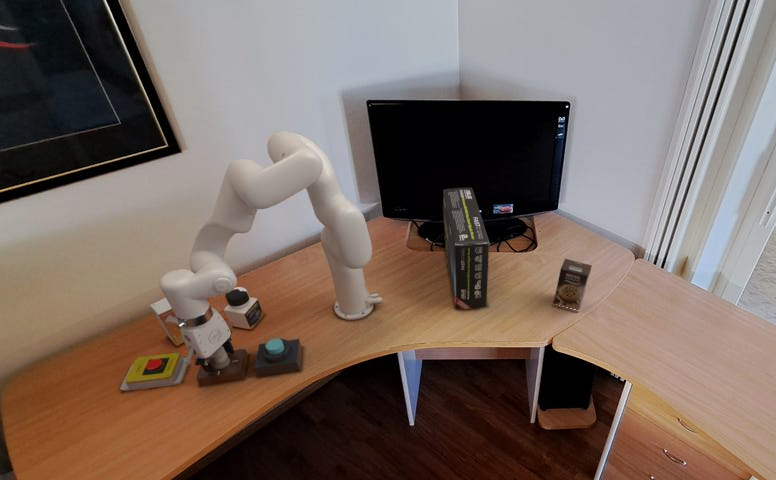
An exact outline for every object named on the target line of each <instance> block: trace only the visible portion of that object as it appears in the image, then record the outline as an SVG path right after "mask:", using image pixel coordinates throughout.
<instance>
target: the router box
mask: <svg viewBox="0 0 776 480" xmlns="http://www.w3.org/2000/svg"><path fill="white" fill-rule="evenodd" d="M479 208H480V207H479V205H478V202H477V199H476V195H475V193H474V189H473V188H472V187H456V188H455V187H454V188H446V189H443V192H442V213H443V214H442V217H443V220H442V221H443V240H444V246H445V248H444V249H445V251H444V252H445V256H446V261H447V268H448V274H449V279H450V284H451V285H450V286H451V289H452V296H453V301H454V307H455V309H456V310H475V309H481V308H486V307H488V288H489V287H488V284H489V260H490V259H489V258H490V253H489V252H490V246H491V245H490V243H491V242H490V240H489V237H488V233H487V231H486V228H485V224H484V222H483V217H482V214H481V212H480V209H479Z"/></svg>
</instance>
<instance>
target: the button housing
mask: <svg viewBox="0 0 776 480" xmlns="http://www.w3.org/2000/svg"><path fill="white" fill-rule="evenodd" d="M280 339H281V340H282V342H283V345H284V350H283V351H282V352H281V353H279V354H276V355H271V354H269V353H268V351H267V349H266V344H267V342H266V343H260V344H258V347H257V353H256V358H255V364H254V370H255V372H256V374H257V377H258V378H262V377H269V376H275V375H283V374H289V373H297V372H301V363H302V353H303V346H302V344H301V341H300V339H299V338H295V339H288V340H287V339H284V338H280Z"/></svg>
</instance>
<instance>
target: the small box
mask: <svg viewBox="0 0 776 480" xmlns="http://www.w3.org/2000/svg"><path fill="white" fill-rule="evenodd" d="M149 307H150V309H151V310H152V312H153V314H154V315H155V317H156V319H157V320H158V322H159V324H160V326H161V327H162V329H163V330H164V332H165V333H166V335H167V337H168V338H169V339H170V340H171V342H172V343H173V344H174V345H175V346H176V347H178V346H180V345H181V344H185V342H184V339H183V337H182V334H181V330H180V329H179V328H177V326H176V325H177V324H178V322H179V321H178V319H177V316H176V315H175V313H174V311H173V309H172V308H171V306H170V304H169V302H168V301H167V299H166V297H163V298H161V299H159V300H158V301H155V302H153V303H151V304H149Z"/></svg>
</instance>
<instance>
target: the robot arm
mask: <svg viewBox="0 0 776 480" xmlns="http://www.w3.org/2000/svg"><path fill="white" fill-rule="evenodd" d="M266 146H267V147H266V148H267V153H268V156H269V158H270V160H271V161H272V163H273V164H271V165H269V166H267V167H263V166H262V165H260V164H259V163H257V162H255V161H253V160H251V159H247V158H237V159H235V160H232V162H231V163H230V164H229V165H228V166H227V169H226V171H225V173H224V177H223V180H222V183H221V186H220V190H219V193H218V196H217V200H216V203H215V206H214V208H213V212H212V215H211V217H210V219H208V220H207V221H206V222H205V224H204V225H202V227H201V228H200V229H199V231H198V233H197V235H196V236H195V239H194V242H193V246H192V249H191V253H190V257H189V267H190V270H189V269H183V268H181V269H179V268H178V269H174V270H171V271H169V272H167V273H165V274H164V275H162V276H161V278H160V279H159V288H160V291H161V292H162V294H163V295H164V298H166V299H167V301H168V302H169V304H170V306H171V308H172V309H173V311H174V313H175V315H176V316H177V319H178V321H179V322H178V324H177V325H176V326H177V328H179V329H180V330H181V334H182V337H183V339H184V344H185V346H186V348H187V350H188V353H187V356H186V358H187V359H186V362H185V363H186V364H188V366H200V365H201V366H202V368H203V369H204V371H206V372H212V373H215V372H216V370H215V368H214V366H213V364H212V363H211V362H209V357H210V356H211V355H212V354H213V353H214V352H215V351H216V350H217V349H218V348H219V347H220V346H223V347H224V349H225V351H226V352H227V353H231V354H234V353H235V351H234V350H235V349H234V346H233V344H232V335H233V327H234V326H233V323H231V322H229V321H226V320H225V319H224V318H223V316H222V315H221V314H220V313H219V311H217V309H216V308H214V307H212V306H211V305H210V302H209V300H208V299H209V298H215V297H219V296H223V295H224V296H225V295H226V294H227V293H229V292H230V291H232V290H233V289H234V288H235V287H237V285H238V278H237V275H236V274H235V272H234V271H233V270H232V269H231V267H230V266H229V264H228V263H227V262H226V261H225V259H224V256H225V252H226V249H227V246H228V244H229V242H230V241H231V239H232V238H233V236H234V235H236V234H247V233H248V232H250V231H251V230H252V227H253V224H254V221H255V218H256V215H257V212H258V210H265V209H269V208H272V207H275V206H276V205H278V204H280V203H283V202H284V201H286V200H288V199H289V198H291V197H293V196H294V195H296V194H298V193H299V192H302V191H303V190H306V192H307V195H308V199H309V201H310V204H311V207H312V210H313V213H314V215H315V218H316V219H317V220H318V221H319V222H320V224H322V225H323V228H322V229H321V232H320V243H321V247H322V249H323V252H324V254H325V258H326V259H327V263H328V266H329V270H330V275H331V279H332V283H333V287H334V292H335V296H336V301H335V304H334V306H333V311H334V313H335V314H336V316H337V317H339V318H340V319H342V320H347V321H354V320H359V319H362V318H364V317H367V316H368V315H369V314H370V313H371V312H372V311H373V310H374V304H382V303H383V297H382V296H379V293H369V289H367V286H366V285H367V284H366V281H365V275H364V267H366V266H367V265H368V264H369V263H370V261H371V259H372V256H373V245H372V240H371V238H370V237H371V236H370V233H369V229H368V226H367V221H366V218H365V216H364V214H363V212H362V211H361V209H360V208H359V207H358V206H357V205H355V204H354V202H352V201H351V200H350V199H348V198H347V197H346V196H345V195H344V192H343V190H342V188H341V185H340V181H339V179H338V176H337V173H336V170H335V168H334V166H333V165H332V163H331V161H330V159H329V157H328V156H327V155H326V154H325V152H324V151H323V150H322V149H321V148H320V147H319V146H318V145H317V144H316V143H314V142H313V141H312V140H311V139H309V138H307V137H305V136H304V135H301V134H299V133H296V132H292V131H277V132H275V133H273V134H271V136H269V139H268V140H267V145H266ZM202 358H203V359H202Z"/></svg>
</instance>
